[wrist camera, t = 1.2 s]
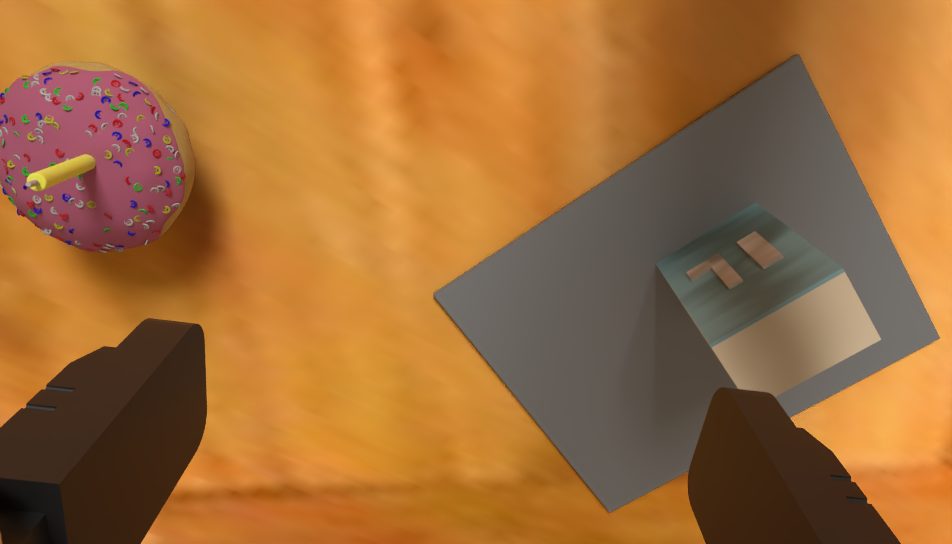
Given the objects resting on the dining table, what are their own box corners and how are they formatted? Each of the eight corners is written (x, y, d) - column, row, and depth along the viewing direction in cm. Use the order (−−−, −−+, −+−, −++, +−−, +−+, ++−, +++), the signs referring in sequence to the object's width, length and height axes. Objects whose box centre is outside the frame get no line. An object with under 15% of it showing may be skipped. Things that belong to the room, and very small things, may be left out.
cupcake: (154, 19, 32) (-17, 34, 21) (259, 172, 35) (159, 258, 24) (18, 106, 33) (-208, 164, 22) (129, 246, 36) (-22, 358, 25)
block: (754, 200, 35) (841, 265, 27) (788, 259, 36) (881, 339, 28) (654, 261, 36) (707, 341, 28) (690, 317, 38) (751, 409, 29)
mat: (796, 54, 32) (799, 54, 32) (936, 335, 39) (940, 338, 38) (433, 293, 37) (433, 295, 37) (609, 509, 43) (609, 512, 43)
